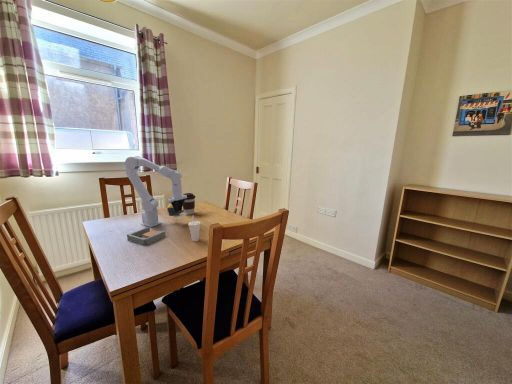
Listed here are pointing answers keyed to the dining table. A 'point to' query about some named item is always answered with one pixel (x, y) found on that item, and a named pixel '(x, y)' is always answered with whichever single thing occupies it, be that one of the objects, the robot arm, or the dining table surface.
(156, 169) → the robot arm
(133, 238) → the frame
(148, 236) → the tile
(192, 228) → the smoothie
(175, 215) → the turner
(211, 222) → the dining table surface
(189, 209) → the coffee cup
